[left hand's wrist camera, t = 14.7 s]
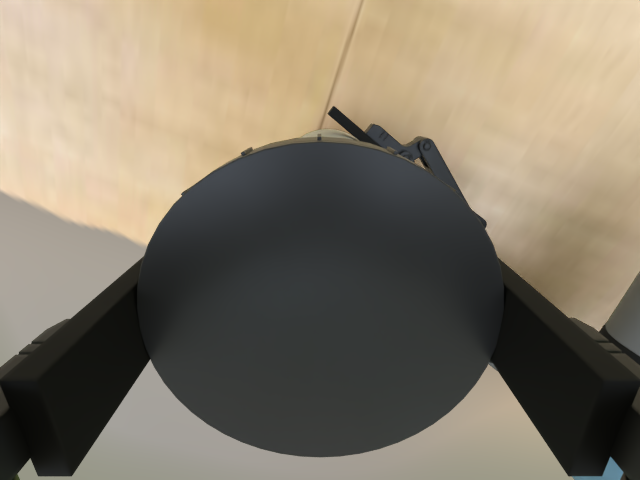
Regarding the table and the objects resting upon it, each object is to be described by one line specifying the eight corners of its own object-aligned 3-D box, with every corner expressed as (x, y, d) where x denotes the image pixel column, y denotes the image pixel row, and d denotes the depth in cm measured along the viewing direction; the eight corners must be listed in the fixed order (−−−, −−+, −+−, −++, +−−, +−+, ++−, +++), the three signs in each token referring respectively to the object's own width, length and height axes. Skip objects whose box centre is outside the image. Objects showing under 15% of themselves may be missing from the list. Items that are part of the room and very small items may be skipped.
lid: (295, 461, 15) (292, 500, 14) (87, 275, 12) (53, 299, 10) (537, 327, 13) (566, 357, 11) (358, 47, 9) (364, 37, 8)
